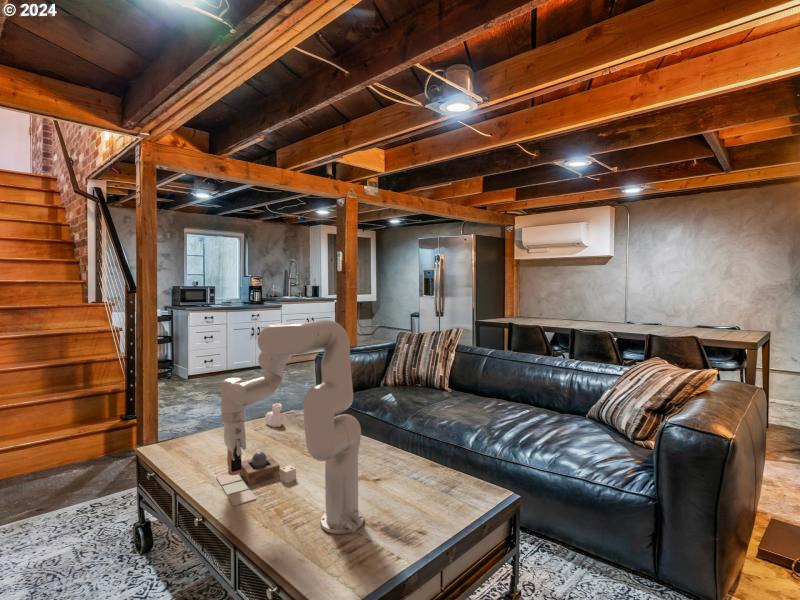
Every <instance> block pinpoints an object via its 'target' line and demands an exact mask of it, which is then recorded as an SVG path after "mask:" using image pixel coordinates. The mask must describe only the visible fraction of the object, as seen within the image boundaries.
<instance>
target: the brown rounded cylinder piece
mask: <svg viewBox="0 0 800 600" xmlns="http://www.w3.org/2000/svg"><path fill="white" fill-rule="evenodd" d="M234 450H236V449H234ZM236 453H237V452H235V453H234V455H235V454H236ZM227 455H228V462H227V470H228V471H227V474H229V475H237V474H239V475H240V473H241V470H239V471H235V472H232V471H231V460H232V452H231V451H230V450H229V449H228V454H227Z"/></svg>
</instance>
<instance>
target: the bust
mask: <svg viewBox="0 0 800 600" xmlns="http://www.w3.org/2000/svg"><path fill="white" fill-rule="evenodd" d="M282 409H283V404H282V403H280V402H278V403H277V402H276V403H275V404H274V403H272V406H271V410H272V411H268V412H267V413H265V417H264V420H265V424H267V426H269V427H272V428H276V427H277V428H279V427H282V425H283V423H284V421H285V417H284V414H283V413H282V412H281V411H282Z"/></svg>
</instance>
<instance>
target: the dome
mask: <svg viewBox="0 0 800 600" xmlns="http://www.w3.org/2000/svg"><path fill="white" fill-rule="evenodd" d="M266 456H267V455H266V453H265V452H264V451H258V452H255V453H254V454H253V455H252V458H251V459H252V468H253V469H256V468H260V467H264V466H267V457H266Z"/></svg>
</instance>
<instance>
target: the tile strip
mask: <svg viewBox="0 0 800 600" xmlns="http://www.w3.org/2000/svg"><path fill="white" fill-rule="evenodd" d="M216 480H217V482H218V484H220V486H221V488H222V490H223V491H224V493H225V495H226V497H228V499H229V501H230V502H231V504H232V506H233V507H236V506H241V505H243V504H246V503H250V502H253V501H256V500H257V497H256V496H255V495H254V493H253V492H252V491H251V489H250V488H249V486H248V485H247V484H246V483H245V482H246V481H244V480H243V479H242V477H241V475H240V473H239V474H237V475H229V474H228V473H227V474H224V475H219V476H217V477H216Z"/></svg>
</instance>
